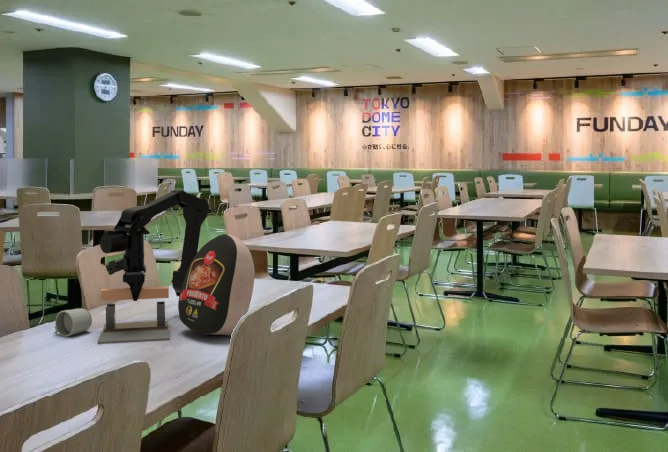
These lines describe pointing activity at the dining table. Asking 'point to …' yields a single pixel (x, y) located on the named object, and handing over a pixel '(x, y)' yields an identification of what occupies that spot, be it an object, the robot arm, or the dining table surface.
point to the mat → (134, 336)
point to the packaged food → (217, 286)
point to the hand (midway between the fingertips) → (135, 299)
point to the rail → (127, 295)
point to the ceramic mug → (72, 322)
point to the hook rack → (135, 326)
